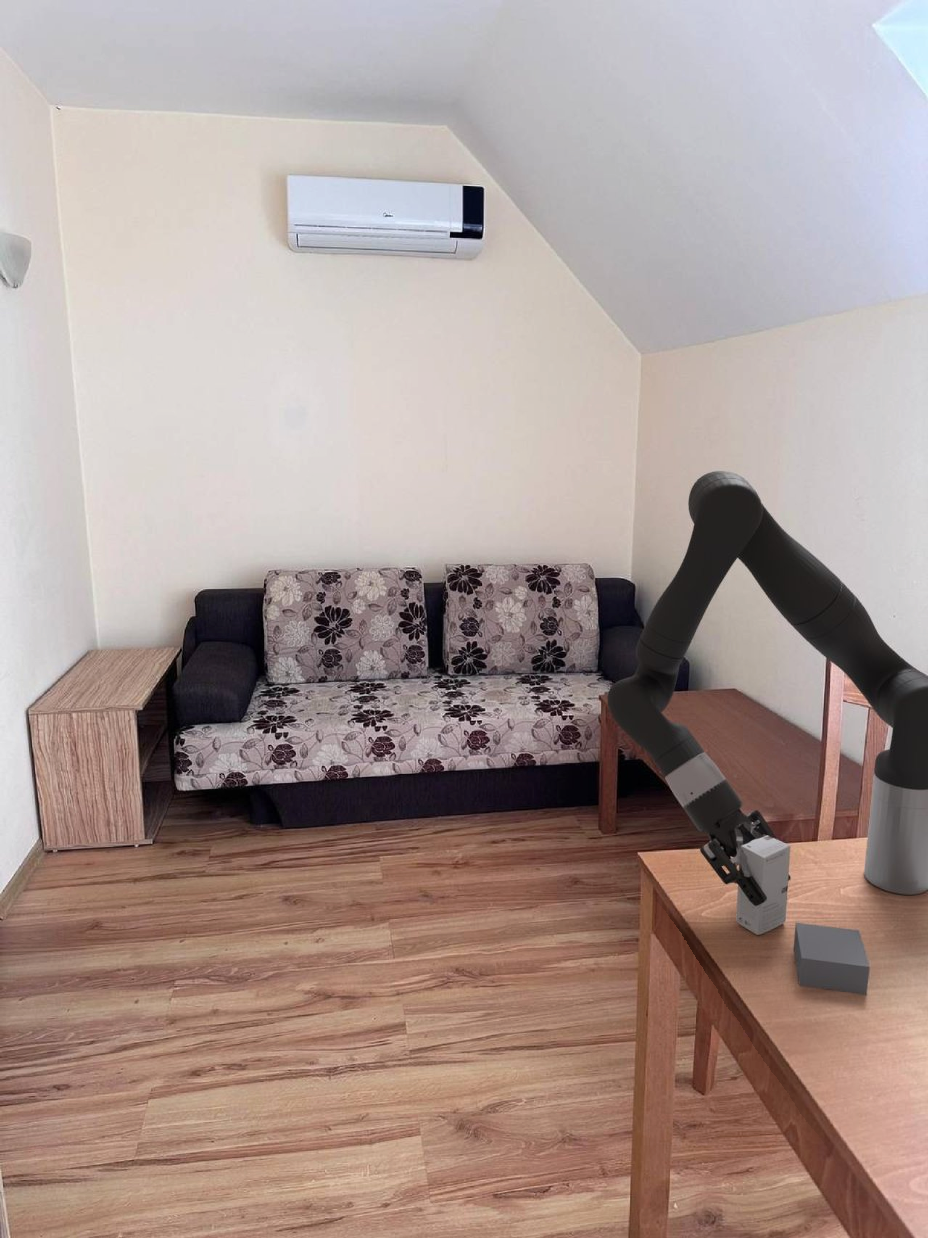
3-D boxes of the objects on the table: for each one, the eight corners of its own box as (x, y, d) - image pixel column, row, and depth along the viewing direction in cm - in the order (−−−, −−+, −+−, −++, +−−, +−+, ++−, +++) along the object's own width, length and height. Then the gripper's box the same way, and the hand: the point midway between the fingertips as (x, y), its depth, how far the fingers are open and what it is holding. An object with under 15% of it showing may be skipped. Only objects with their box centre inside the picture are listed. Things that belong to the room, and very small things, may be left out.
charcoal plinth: (793, 948, 121) (795, 922, 120) (856, 956, 119) (859, 930, 118) (799, 985, 114) (801, 958, 113) (866, 994, 112) (869, 967, 111)
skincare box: (759, 937, 123) (764, 859, 120) (733, 921, 127) (738, 845, 124) (787, 922, 127) (793, 846, 123) (761, 907, 130) (766, 833, 127)
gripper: (693, 796, 122) (768, 904, 117) (744, 764, 132) (815, 863, 127) (659, 819, 127) (730, 923, 122) (710, 786, 137) (778, 882, 132)
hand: (773, 892), depth 124 cm, fingers closed on skincare box, 6 cm apart
